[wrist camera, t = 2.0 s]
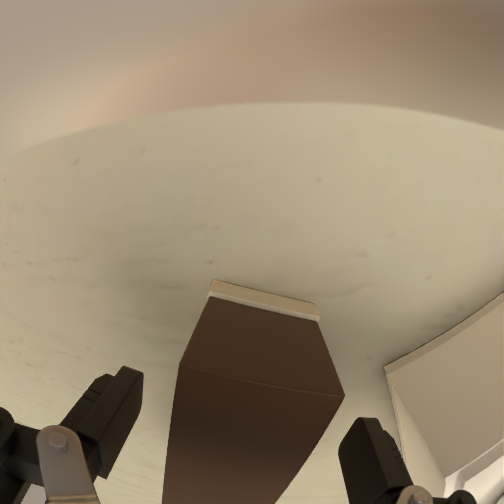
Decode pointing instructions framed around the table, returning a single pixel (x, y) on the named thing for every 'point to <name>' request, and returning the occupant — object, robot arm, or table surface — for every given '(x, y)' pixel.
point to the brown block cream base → (248, 399)
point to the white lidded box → (455, 408)
